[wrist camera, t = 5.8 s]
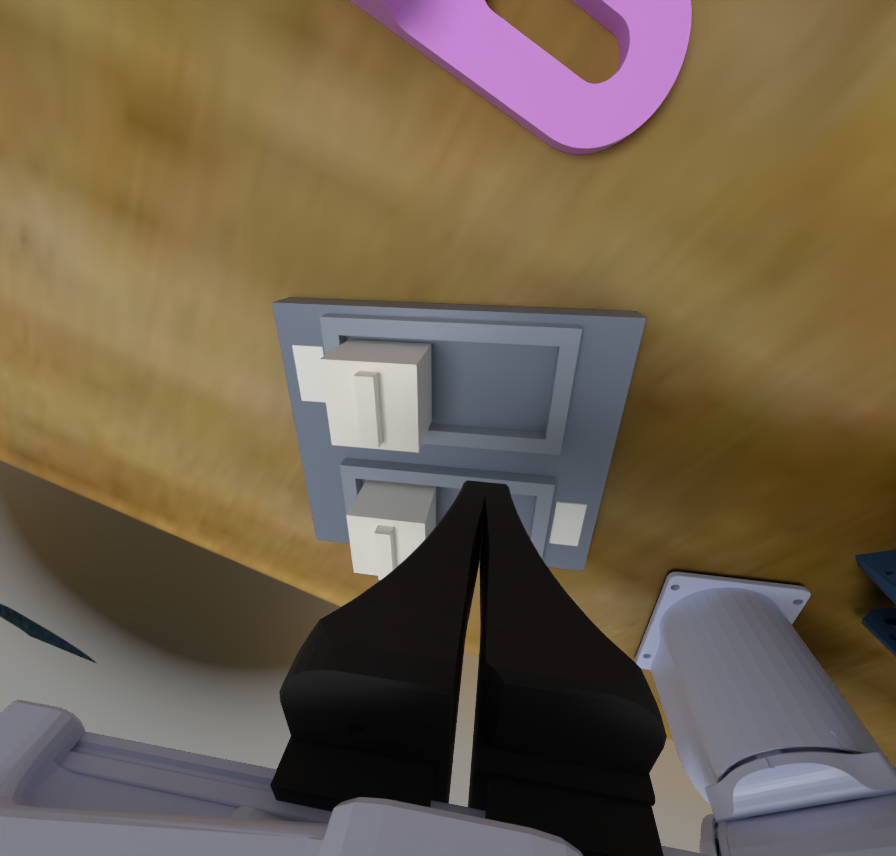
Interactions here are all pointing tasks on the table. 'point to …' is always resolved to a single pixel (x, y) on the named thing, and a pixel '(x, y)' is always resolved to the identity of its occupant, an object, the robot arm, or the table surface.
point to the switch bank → (475, 408)
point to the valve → (892, 576)
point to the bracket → (551, 64)
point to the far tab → (389, 524)
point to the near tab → (378, 394)
